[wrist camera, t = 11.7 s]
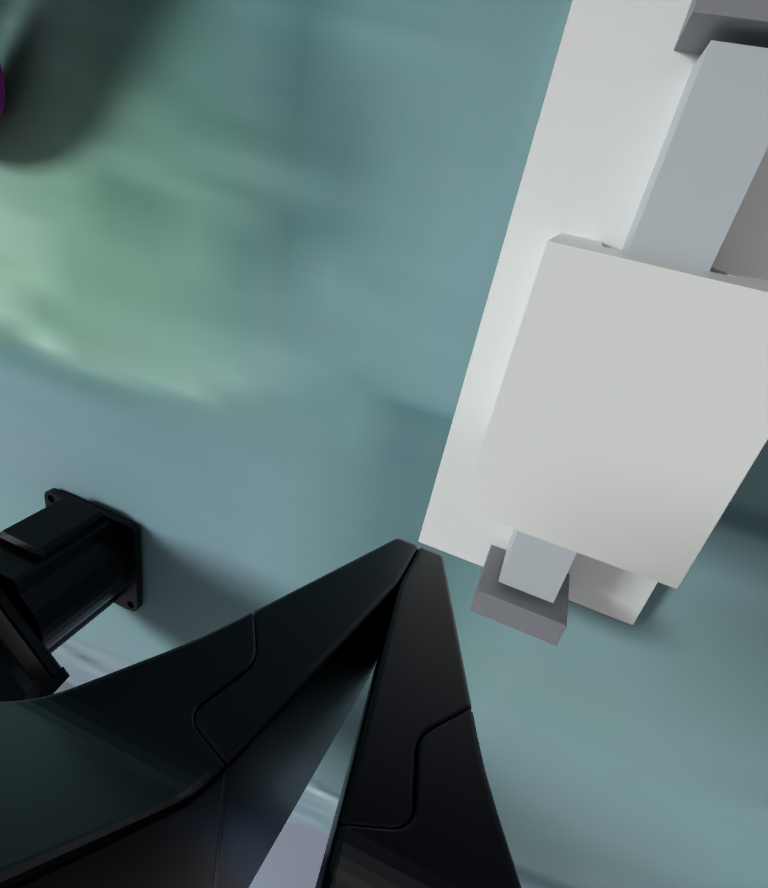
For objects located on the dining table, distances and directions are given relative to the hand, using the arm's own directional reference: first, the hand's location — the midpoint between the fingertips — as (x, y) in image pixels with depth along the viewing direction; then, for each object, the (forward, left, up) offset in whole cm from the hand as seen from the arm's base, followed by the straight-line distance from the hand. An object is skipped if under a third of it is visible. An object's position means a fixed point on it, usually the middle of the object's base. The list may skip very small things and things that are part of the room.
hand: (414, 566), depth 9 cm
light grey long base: (+2, -3, -12) cm, 12 cm away
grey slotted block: (+2, -3, -11) cm, 12 cm away
